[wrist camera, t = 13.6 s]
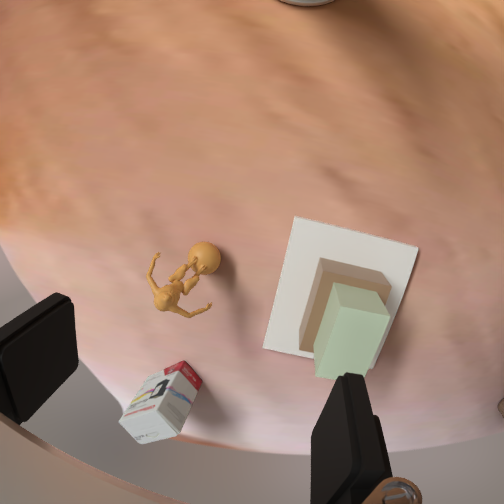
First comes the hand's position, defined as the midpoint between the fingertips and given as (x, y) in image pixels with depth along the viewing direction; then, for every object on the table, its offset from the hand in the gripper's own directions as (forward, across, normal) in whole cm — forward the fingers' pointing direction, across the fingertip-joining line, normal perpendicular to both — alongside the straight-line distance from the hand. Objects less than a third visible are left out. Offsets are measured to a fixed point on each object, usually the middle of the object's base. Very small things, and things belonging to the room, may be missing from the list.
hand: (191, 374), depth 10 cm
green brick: (+24, -11, +8) cm, 28 cm away
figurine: (+31, +7, +7) cm, 32 cm away
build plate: (+30, -11, +8) cm, 33 cm away
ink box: (+31, +9, +28) cm, 42 cm away
